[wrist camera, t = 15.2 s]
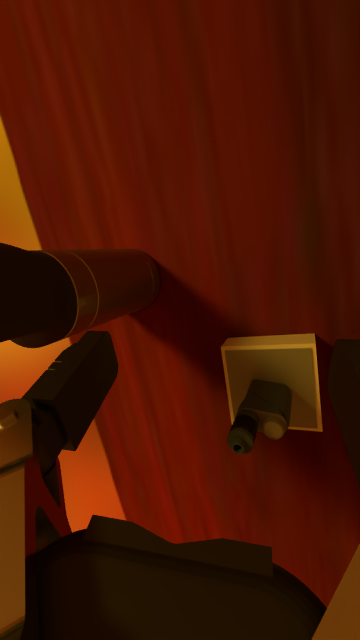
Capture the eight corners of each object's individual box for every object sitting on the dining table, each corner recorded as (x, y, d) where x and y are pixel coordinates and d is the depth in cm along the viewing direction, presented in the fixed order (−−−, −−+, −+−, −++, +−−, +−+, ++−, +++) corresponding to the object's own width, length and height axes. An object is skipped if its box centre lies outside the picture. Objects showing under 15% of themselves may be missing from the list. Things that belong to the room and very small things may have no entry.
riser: (238, 409, 42) (231, 425, 38) (228, 337, 40) (220, 347, 36) (320, 414, 38) (322, 432, 34) (314, 333, 36) (315, 343, 32)
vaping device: (248, 376, 36) (224, 432, 25) (293, 384, 34) (287, 448, 23) (247, 395, 36) (223, 457, 26) (291, 403, 35) (284, 474, 24)
